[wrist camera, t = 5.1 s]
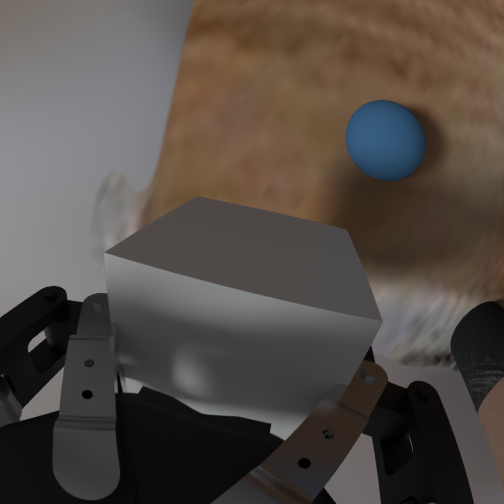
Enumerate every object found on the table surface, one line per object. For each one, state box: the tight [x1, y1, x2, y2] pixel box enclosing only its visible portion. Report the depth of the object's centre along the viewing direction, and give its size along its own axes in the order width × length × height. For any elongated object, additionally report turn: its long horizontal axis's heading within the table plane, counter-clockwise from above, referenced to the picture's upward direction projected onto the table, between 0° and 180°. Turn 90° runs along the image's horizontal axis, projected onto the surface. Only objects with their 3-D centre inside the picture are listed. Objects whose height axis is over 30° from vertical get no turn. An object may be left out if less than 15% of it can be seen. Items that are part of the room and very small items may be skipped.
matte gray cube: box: [104, 196, 383, 440], centre depth 11 cm, size 7×7×7 cm
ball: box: [346, 100, 425, 181], centre depth 15 cm, size 5×5×5 cm
